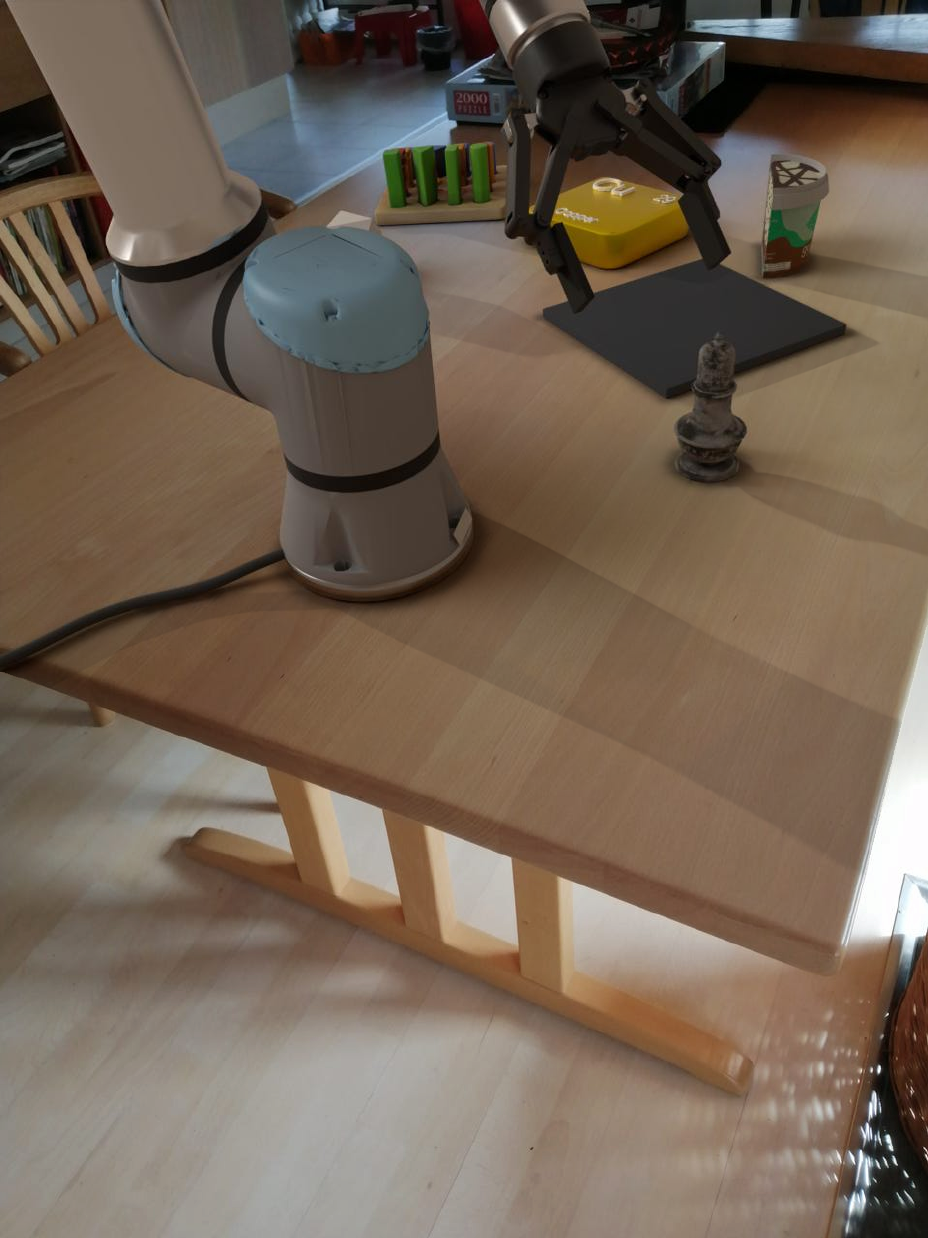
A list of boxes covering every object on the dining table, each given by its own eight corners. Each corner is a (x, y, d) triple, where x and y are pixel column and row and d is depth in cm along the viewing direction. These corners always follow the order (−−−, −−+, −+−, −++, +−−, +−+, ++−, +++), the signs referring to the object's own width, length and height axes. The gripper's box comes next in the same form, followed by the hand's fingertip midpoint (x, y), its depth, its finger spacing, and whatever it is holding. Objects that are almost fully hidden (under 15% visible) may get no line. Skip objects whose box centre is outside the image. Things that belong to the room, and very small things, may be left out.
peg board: (514, 176, 144) (511, 111, 139) (505, 220, 131) (501, 151, 126) (395, 181, 147) (387, 119, 141) (374, 226, 134) (365, 158, 128)
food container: (821, 283, 109) (836, 189, 103) (762, 283, 111) (773, 189, 104) (814, 240, 118) (828, 151, 112) (760, 240, 120) (771, 152, 113)
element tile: (521, 243, 125) (520, 204, 122) (603, 208, 132) (604, 170, 129) (612, 273, 116) (612, 231, 113) (694, 233, 123) (697, 193, 120)
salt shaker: (753, 456, 85) (770, 323, 77) (725, 491, 82) (740, 355, 74) (689, 439, 88) (699, 309, 80) (659, 473, 84) (667, 340, 77)
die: (411, 288, 119) (390, 204, 118) (375, 278, 111) (352, 188, 110) (351, 311, 123) (330, 229, 122) (312, 303, 115) (289, 216, 114)
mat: (666, 398, 94) (666, 389, 93) (542, 317, 109) (542, 308, 108) (845, 333, 100) (846, 324, 100) (705, 265, 116) (706, 256, 115)
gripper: (653, 50, 90) (748, 265, 90) (406, 108, 82) (508, 344, 82) (695, -12, 83) (798, 222, 83) (428, 46, 75) (540, 304, 75)
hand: (653, 283), depth 82 cm, fingers open, 13 cm apart
